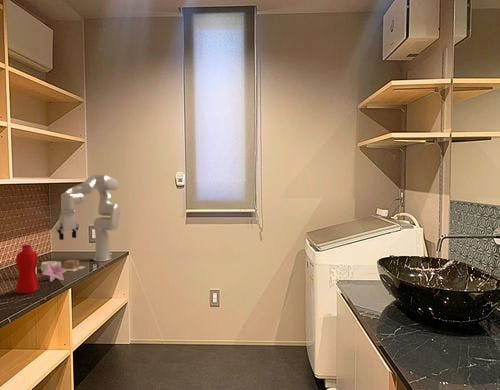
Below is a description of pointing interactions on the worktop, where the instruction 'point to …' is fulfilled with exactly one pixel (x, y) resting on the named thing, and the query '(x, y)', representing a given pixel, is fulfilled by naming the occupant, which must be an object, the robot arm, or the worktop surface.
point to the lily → (55, 271)
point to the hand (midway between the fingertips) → (67, 238)
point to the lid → (72, 265)
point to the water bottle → (27, 270)
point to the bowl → (45, 265)
